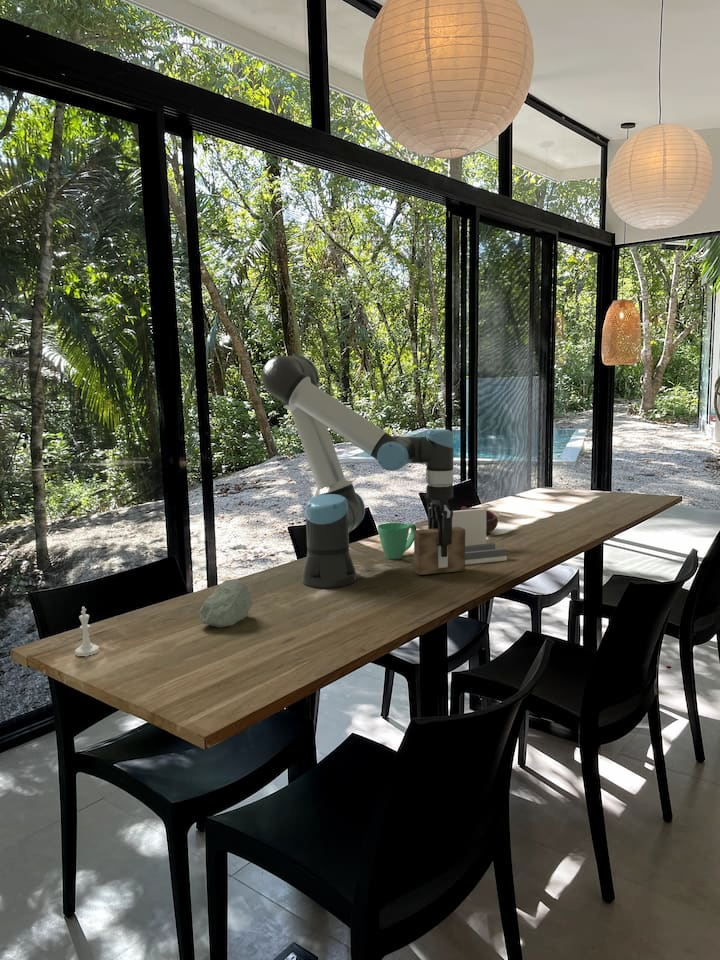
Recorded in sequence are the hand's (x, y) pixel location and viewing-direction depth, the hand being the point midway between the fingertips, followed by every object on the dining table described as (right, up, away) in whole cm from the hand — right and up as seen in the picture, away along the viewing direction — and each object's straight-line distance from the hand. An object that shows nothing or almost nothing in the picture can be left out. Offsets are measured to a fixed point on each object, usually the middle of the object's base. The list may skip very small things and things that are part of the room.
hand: (439, 564), depth 204 cm
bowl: (+18, +5, +49) cm, 53 cm away
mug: (-10, 0, +20) cm, 22 cm away
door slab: (0, -2, 0) cm, 2 cm away
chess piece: (-81, -13, -52) cm, 97 cm away
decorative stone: (-55, -9, -36) cm, 66 cm away
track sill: (+11, +1, +17) cm, 20 cm away
